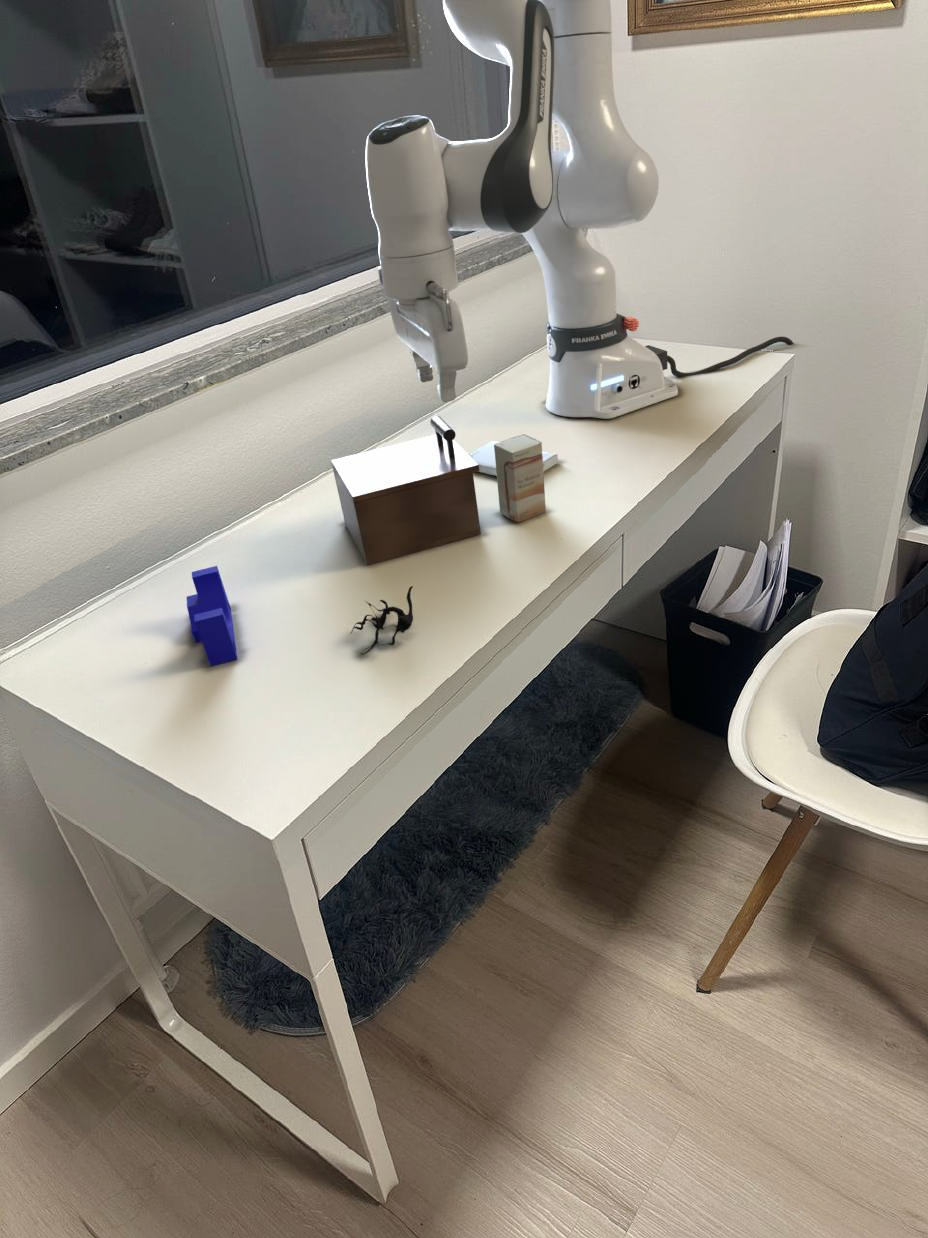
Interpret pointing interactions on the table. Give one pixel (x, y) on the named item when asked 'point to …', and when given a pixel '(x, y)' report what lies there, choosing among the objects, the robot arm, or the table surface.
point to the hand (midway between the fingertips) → (436, 389)
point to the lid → (404, 464)
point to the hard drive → (488, 463)
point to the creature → (402, 624)
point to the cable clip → (212, 617)
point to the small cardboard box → (520, 477)
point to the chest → (411, 518)
